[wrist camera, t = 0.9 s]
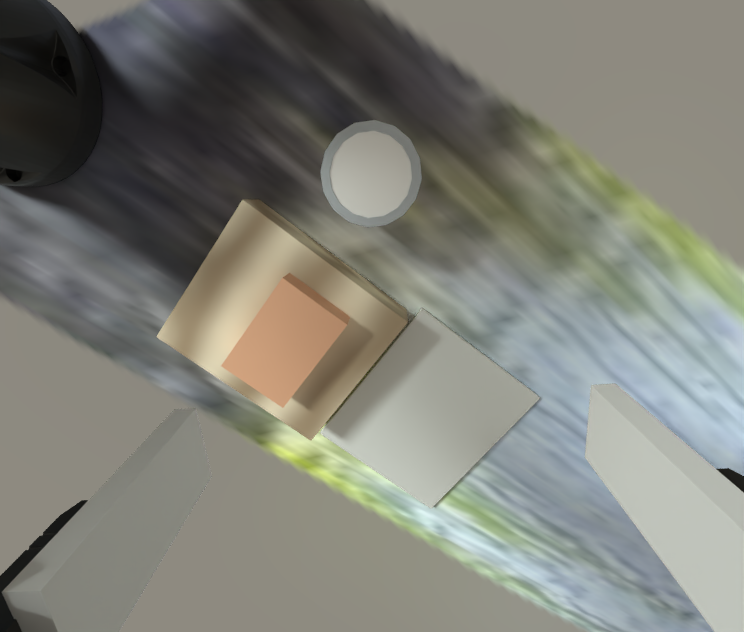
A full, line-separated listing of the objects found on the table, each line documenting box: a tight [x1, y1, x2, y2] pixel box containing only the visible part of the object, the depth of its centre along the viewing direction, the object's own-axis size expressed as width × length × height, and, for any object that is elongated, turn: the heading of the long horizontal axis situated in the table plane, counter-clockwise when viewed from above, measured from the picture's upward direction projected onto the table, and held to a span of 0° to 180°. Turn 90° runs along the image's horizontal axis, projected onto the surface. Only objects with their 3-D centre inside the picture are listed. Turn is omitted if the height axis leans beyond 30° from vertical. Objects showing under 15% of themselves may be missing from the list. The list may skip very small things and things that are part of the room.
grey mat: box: [320, 308, 540, 508], centre depth 40 cm, size 14×16×1 cm
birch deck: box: [157, 199, 408, 440], centre depth 36 cm, size 16×14×4 cm
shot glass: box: [320, 120, 422, 227], centre depth 31 cm, size 7×7×7 cm
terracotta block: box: [221, 273, 350, 408], centre depth 33 cm, size 6×9×2 cm, turn 143°
